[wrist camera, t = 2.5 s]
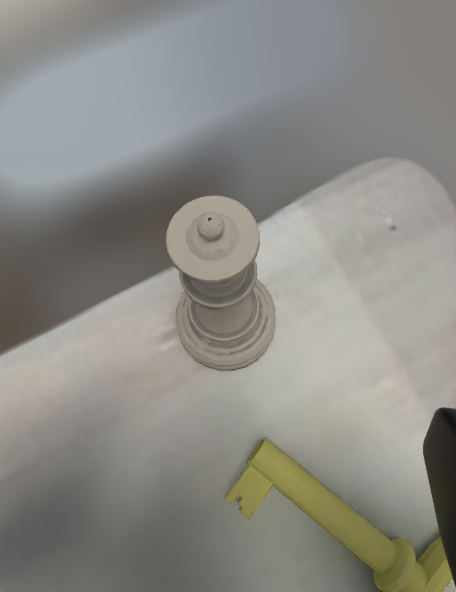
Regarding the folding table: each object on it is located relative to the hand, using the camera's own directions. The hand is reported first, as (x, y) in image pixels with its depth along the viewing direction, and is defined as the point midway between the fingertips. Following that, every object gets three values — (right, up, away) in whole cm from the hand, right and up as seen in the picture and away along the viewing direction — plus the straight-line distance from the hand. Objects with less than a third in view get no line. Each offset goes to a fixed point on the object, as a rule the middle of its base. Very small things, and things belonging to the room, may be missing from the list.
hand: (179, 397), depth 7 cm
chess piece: (+1, 0, +12) cm, 12 cm away
